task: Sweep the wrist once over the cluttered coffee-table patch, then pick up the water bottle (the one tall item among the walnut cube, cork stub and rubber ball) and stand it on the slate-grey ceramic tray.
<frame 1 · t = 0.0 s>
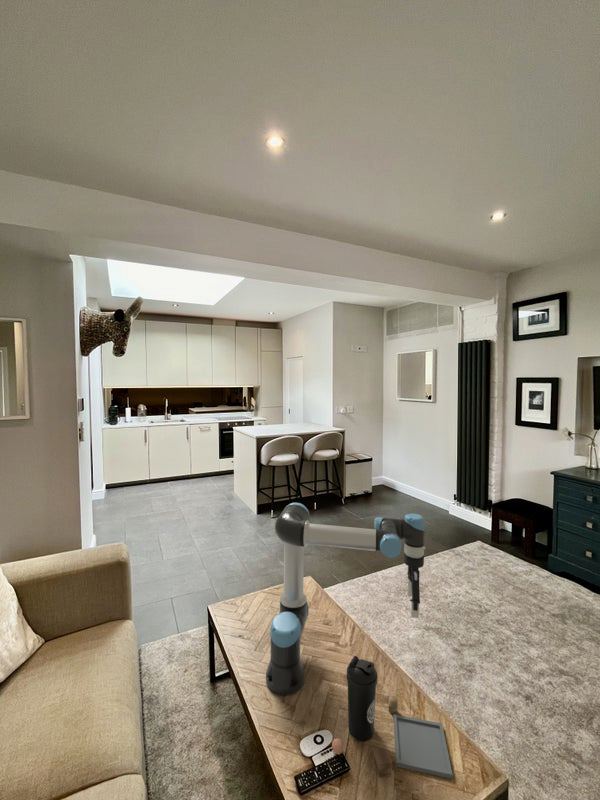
hand: (412, 606, 139), 28 cm above the table, fingers open, 13 cm apart
rubber ball: (337, 751, 110), on the table
tray: (420, 745, 112), on the table
cork stub: (392, 711, 124), on the table
water bottle: (360, 729, 118), on the table
walnut cube: (383, 769, 105), on the table
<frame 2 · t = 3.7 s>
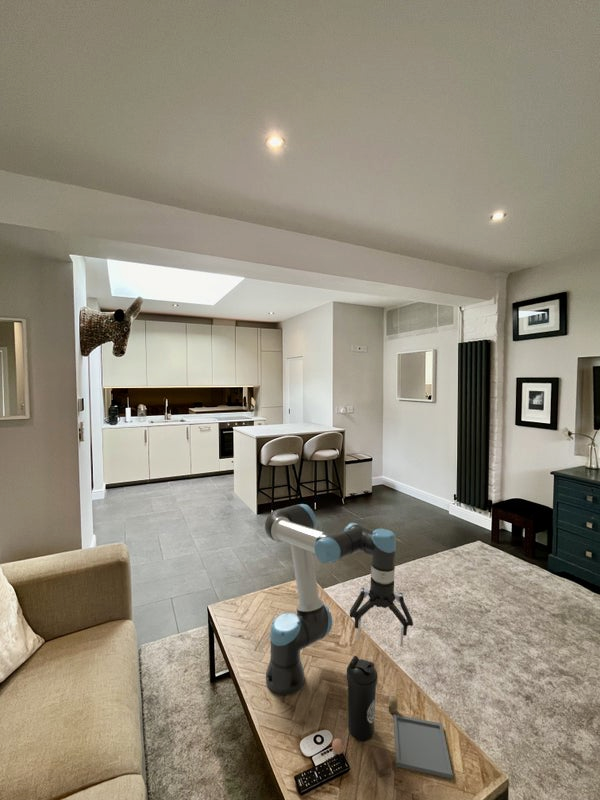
hand: (379, 640, 115), 32 cm above the table, fingers open, 13 cm apart
nothing on the table moved.
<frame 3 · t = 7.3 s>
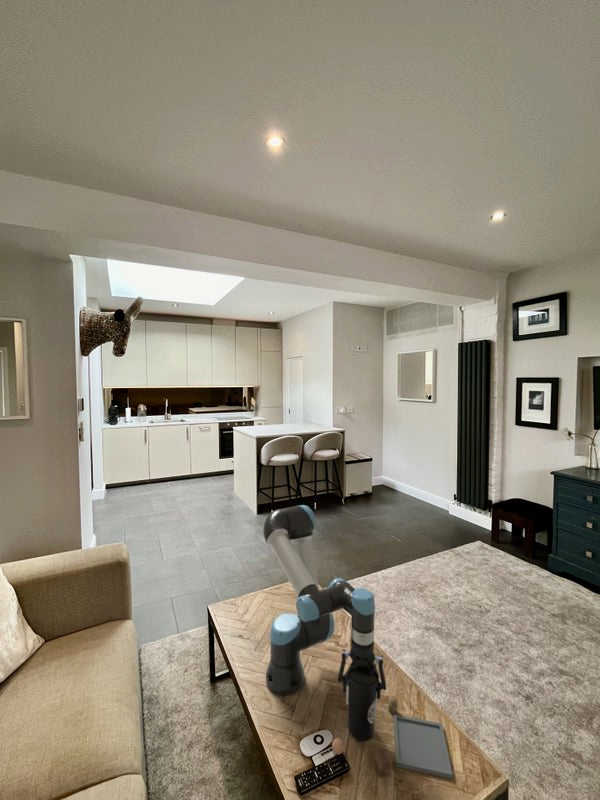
hand: (361, 703, 117), 9 cm above the table, fingers closed on water bottle, 8 cm apart
water bottle: (360, 729, 118), on the table, touching gripper
everything else where it was.
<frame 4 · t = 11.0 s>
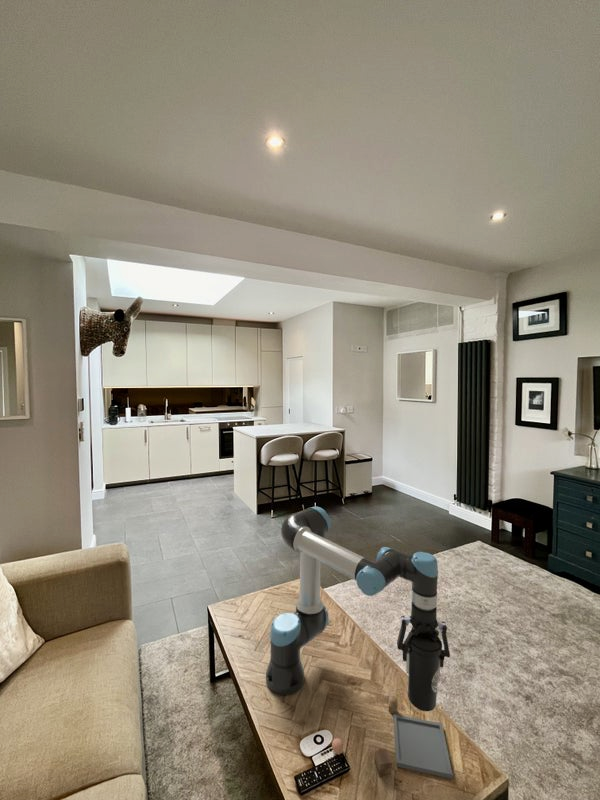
hand: (422, 672, 111), 24 cm above the table, fingers closed on water bottle, 8 cm apart
water bottle: (421, 699, 112), point 16 cm above the table, touching gripper
everything else where it was.
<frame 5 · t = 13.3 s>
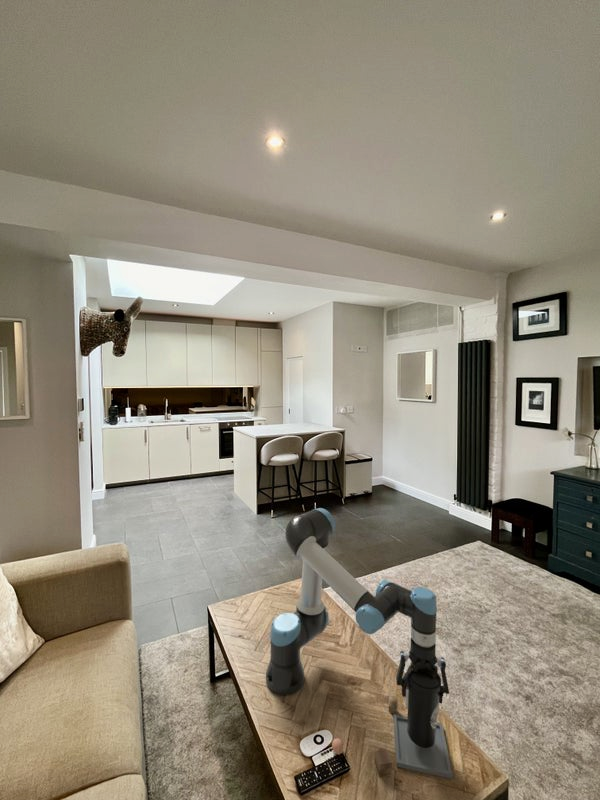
hand: (421, 708, 112), 13 cm above the table, fingers closed on water bottle, 8 cm apart
water bottle: (420, 734, 112), point 4 cm above the table, touching gripper
everything else where it was.
when the fingers open (11 cm above the table, at t = 14.9 s): water bottle drops 1 cm, resting on tray.
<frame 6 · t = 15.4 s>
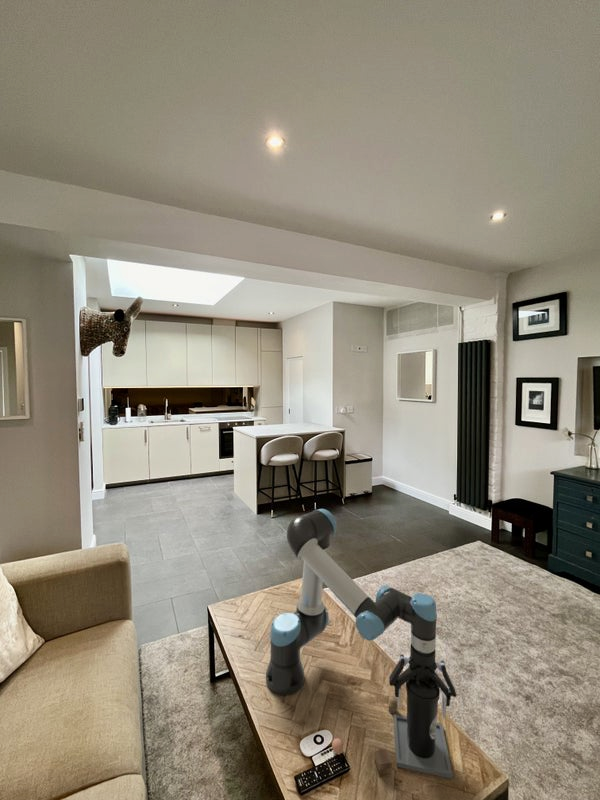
hand: (421, 709, 112), 12 cm above the table, fingers open, 13 cm apart
water bottle: (420, 745, 112), resting on tray
everything else where it was.
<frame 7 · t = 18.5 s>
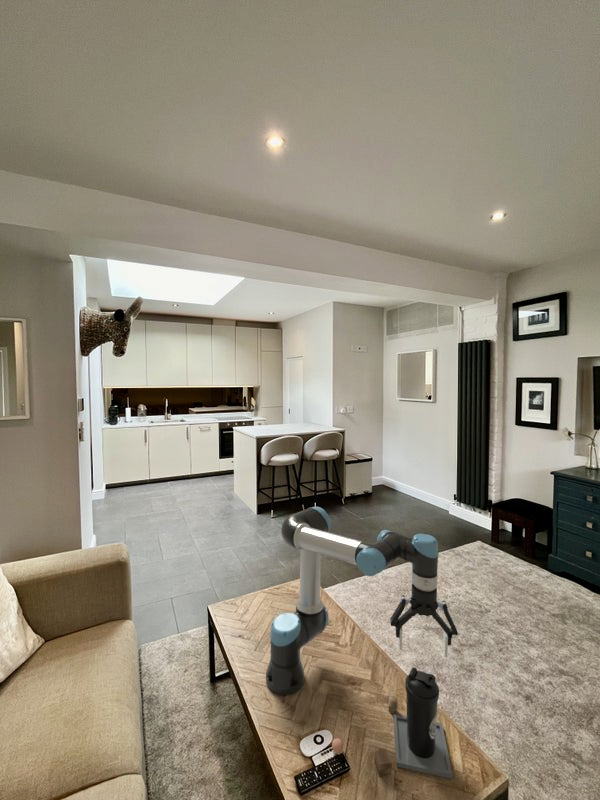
hand: (422, 650, 111), 32 cm above the table, fingers open, 13 cm apart
nothing on the table moved.
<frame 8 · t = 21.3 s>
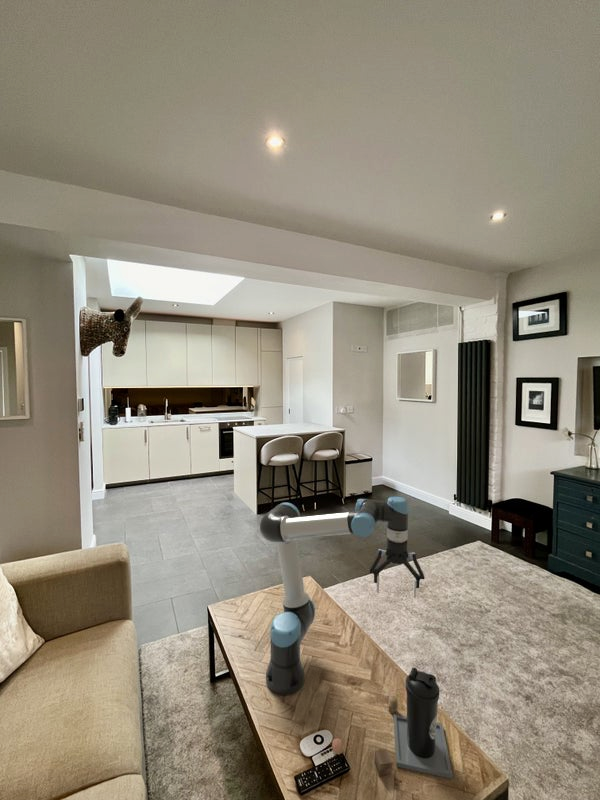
hand: (395, 593, 133), 37 cm above the table, fingers open, 13 cm apart
nothing on the table moved.
at the end: water bottle inside the target area on the tray (0.2 cm from its centre), point 0.4 cm above the tray's base; water bottle tilted 0°; the gripper is holding nothing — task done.
